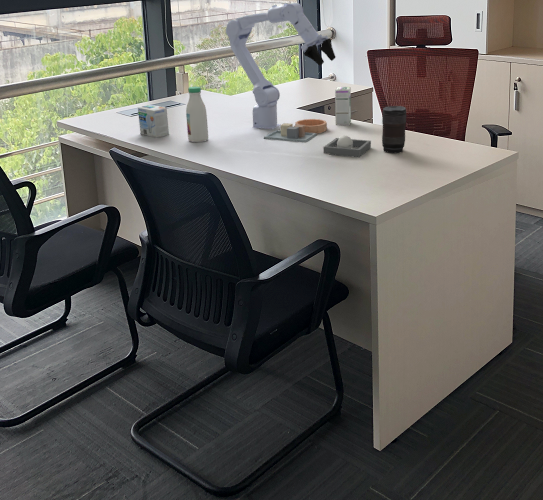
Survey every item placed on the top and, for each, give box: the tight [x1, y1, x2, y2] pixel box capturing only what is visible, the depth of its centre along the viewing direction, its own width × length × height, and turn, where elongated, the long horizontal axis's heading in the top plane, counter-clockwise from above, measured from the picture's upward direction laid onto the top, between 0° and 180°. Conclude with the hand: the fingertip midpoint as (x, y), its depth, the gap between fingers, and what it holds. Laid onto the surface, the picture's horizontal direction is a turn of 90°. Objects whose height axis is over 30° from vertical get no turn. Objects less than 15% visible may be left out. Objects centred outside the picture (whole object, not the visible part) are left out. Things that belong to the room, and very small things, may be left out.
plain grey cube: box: [287, 126, 299, 139], centre depth 254 cm, size 4×4×4 cm
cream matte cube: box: [280, 122, 294, 136], centre depth 259 cm, size 4×4×4 cm
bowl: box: [294, 118, 328, 134], centre depth 265 cm, size 12×12×3 cm
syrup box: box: [334, 86, 352, 127], centre depth 272 cm, size 6×6×14 cm
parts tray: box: [263, 129, 317, 143], centre depth 257 cm, size 17×11×1 cm, turn 65°
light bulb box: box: [137, 104, 170, 138], centre depth 268 cm, size 11×7×11 cm, turn 47°
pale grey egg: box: [336, 135, 353, 149], centre depth 237 cm, size 8×6×6 cm
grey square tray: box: [323, 137, 372, 158], centre depth 237 cm, size 13×13×3 cm
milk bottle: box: [185, 86, 209, 143], centre depth 255 cm, size 8×8×20 cm
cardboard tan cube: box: [293, 125, 305, 137], centre depth 256 cm, size 4×4×4 cm
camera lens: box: [381, 105, 407, 154], centre depth 233 cm, size 8×8×15 cm
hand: (327, 61), depth 250 cm, fingers open, 7 cm apart
